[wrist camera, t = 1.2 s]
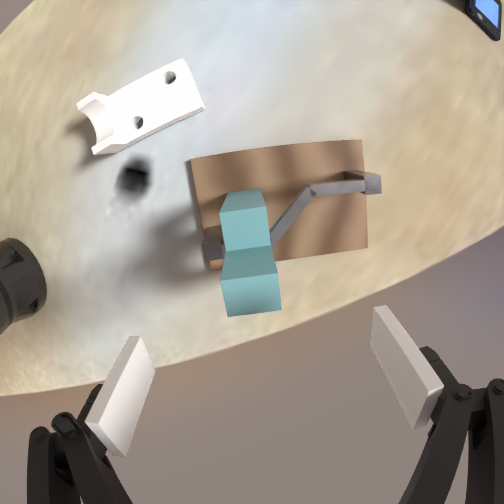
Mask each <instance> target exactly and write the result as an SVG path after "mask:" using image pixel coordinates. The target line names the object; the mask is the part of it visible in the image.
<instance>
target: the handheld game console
mask: <svg viewBox="0 0 504 504" xmlns="http://www.w3.org/2000/svg"><path fill="white" fill-rule="evenodd" d="M465 12H466V14H468V15H469V16H470V17H472V18H473V19H474V20H475V21H476V22H477V23H478V24H479V25H480V26H481V27H482V28H483V29H484V30H485V31H486V32H487V33H488V34H489V35H490V36H491V37H492V38H493V39H494V40H495V41H498V40H500V35H501V14H502V4H501V1H500V0H467V2H466V7H465Z"/></svg>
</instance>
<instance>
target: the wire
mask: <svg viewBox="0 0 504 504" xmlns="http://www.w3.org/2000/svg"><path fill="white" fill-rule="evenodd" d="M343 172H344V180H342V181H332V182H322V183H312V184H307V185H308V186H307V185H305V186H304V187H303V189H302V190H301V191H300V192H299V194H298V195H297V196H296V197H295V199H294V200H293V201H292V202H291V204H290V205H289V206H288V207H287V209H286V210H285V211H284V212H283V214H282V215H281V216H280V218H279V219H278V220H277V221H276V223H275V224H274V225H273V226H272V228H271V229H270V230H269V234H270V242H271V247H272V248H273V247H274V246H275V244H276V243H277V242H278V241H279V240H280V238H281V237H282V236H283V235H284V233H285V232H286V231H287V230H288V228H289V227H290V226H291V225H292V223H293V222H294V221H295V220H296V218H297V217H298V216H299V215H300V214H301V212H302V211H303V210H304V209H305V207H306V206H307V205H308V204H309V202H310V201H311V200H312V199H313V197H314V196H323V195H332V194H342V193H351V192H360V193H362V194H365V195H369V194H380V193H382V192H381V175H377V174H373V173H369V172H364V171H360V170H350V171H343ZM202 246H203V251H204V255H205V260H206V261H212V260H220V259H224V256H225V254H226V249H225V243H224V238H223V232H222V227H221V225H218V226H212V227H210V228H209V230H208V232H207V235H206V237H205V239H204V241H203V243H202Z"/></svg>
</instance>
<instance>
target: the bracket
mask: <svg viewBox="0 0 504 504" xmlns="http://www.w3.org/2000/svg"><path fill="white" fill-rule="evenodd" d="M174 77H176V79H175V81H174V82H173V83H171V84H169V81H170V80H171V79H172V78H174ZM196 87H197V86H196V84H195V82H194V79H193V77H192V74H191V72H190V70H189V67H188V65H187V64H186V62H185V61H184V60H183V58H181V59H179V60H177V61H174V62H172V63H170V64H168V65H166V66H164V67H162V68H159V69H157V70H155V71H153V72H151V73H149V74H147V75H146V76H144V77H142V78H140V79H138V80H136V81H134V82H132V83H131V84H129V85H127V86H125V87H124V88H122V89H120V90H118V91H117V92H115V93H113V94H112V95H110V96H105V95H101V94H98V93H95V92H93V93H91V94H90V95H88V96H87V97H85V98H84V99H82V100H81V101H79V102H78V103H76V105H77V108H78V110H80V111H82V112H83V113H85V114H86V115H87V116H88V118H89V119H90V120H91V122H92V124H93V126H94V128H95V131H96V136H97V142H96V145H95V146H93V147H91V149H92V151H93V154H94V155H97V154H108V153H118V152H120V151H121V150H123V149H125V148H127V147H129V146H130V145H132V144H134V143H136V142H138V141H140V140H142V139H144V138H145V137H147V136H149V135H151V134H153V133H155V132H157V131H159V130H161V129H163V128H166V127H168V126H170V125H172V124H174V123H176V122H178V121H180V120H183V119H185V118H187V117H189V116H192V115H194V114H196V113H199V112H201V111H203V110H206V109H205V107H204V105H203V102H202V100H201V97H200V95H199V92H198V90H197V88H196ZM142 118H143V126H142V127H141V128H140V129H139V128H138V122H139V120H140V119H142Z"/></svg>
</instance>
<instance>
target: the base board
mask: <svg viewBox="0 0 504 504" xmlns="http://www.w3.org/2000/svg"><path fill="white" fill-rule="evenodd" d="M190 160H191V166H192V172H193V178H194V184H195V189H196V195H197V200H198V206H199V211H200V216H201V222H202V227H203V232H204V237H206V235H207V232H208V230H209V228H210V227H212V226H218V225H221V221H220V215H219V212H220V210H221V208H222V205H223V203H224V201H225V199H226V196H227V194H228V193H230V192H236V191H243V190H250V189H257V188H260V190H261V193H262V196H263V199H264V202H265V205H266V211H267V218H268V226H269V230H270V229H271V228H272V226H273V225H274V224H275V223H276V221H277V220H278V219H279V218H280V216H281V215H282V214H283V212H284V211H285V210H286V209H287V207H288V206H289V205H290V204H291V202H292V201H293V200H294V199H295V197H296V196H297V195H298V194H299V192H300V191H301V190H302V189H303V187H304V186H305V185H307V184H312V183H322V182H332V181H342V180H344V172H343V171H350V170H360V171H364V159H363V149H362V140H341V141H325V142H312V143H301V144H291V145H281V146H273V147H264V148H257V149H249V150H242V151H236V152H229V153H223V154H217V155H211V156H206V157H200V158H195V159H190ZM364 172H365V171H364ZM307 186H308V185H307ZM364 248H368V237H367V203H366V195H365V194H362V193H360V192H351V193H342V194H332V195H323V196H314V197H313V199H312V200H311V201H310V202H309V204H308V205H307V206H306V207H305V209H304V210H303V211H302V212H301V214H300V215H299V216H298V217H297V218H296V220H295V221H294V222H293V223H292V225H291V226H290V227H289V228H288V230H287V231H286V232H285V233H284V235H283V236H282V237H281V238H280V240H279V241H278V242H277V243H276V244H275V246H274V247H273V248H272V252H273V256H274V260H275V261H282V260H289V259H296V258H303V257H310V256H317V255H324V254H330V253H337V252H344V251H351V250H357V249H364ZM224 259H225V256H224ZM224 259H220V260H212V261H209V262H210V267H211V270H216V269H223V264H224Z"/></svg>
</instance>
